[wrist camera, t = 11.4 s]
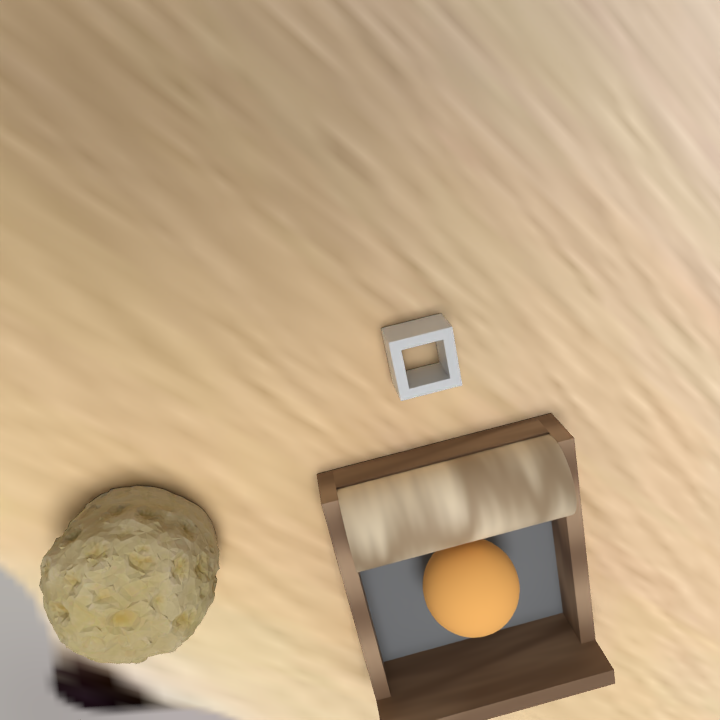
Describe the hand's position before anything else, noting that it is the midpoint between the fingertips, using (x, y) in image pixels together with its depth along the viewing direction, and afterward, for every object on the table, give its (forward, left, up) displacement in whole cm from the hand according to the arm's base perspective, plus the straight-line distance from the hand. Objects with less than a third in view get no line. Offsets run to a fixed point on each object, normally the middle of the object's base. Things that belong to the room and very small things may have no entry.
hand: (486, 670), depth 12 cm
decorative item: (+14, -15, -29) cm, 36 cm away
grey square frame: (+6, +4, -29) cm, 30 cm away
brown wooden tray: (+21, +4, -29) cm, 36 cm away
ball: (+21, +4, -25) cm, 33 cm away
